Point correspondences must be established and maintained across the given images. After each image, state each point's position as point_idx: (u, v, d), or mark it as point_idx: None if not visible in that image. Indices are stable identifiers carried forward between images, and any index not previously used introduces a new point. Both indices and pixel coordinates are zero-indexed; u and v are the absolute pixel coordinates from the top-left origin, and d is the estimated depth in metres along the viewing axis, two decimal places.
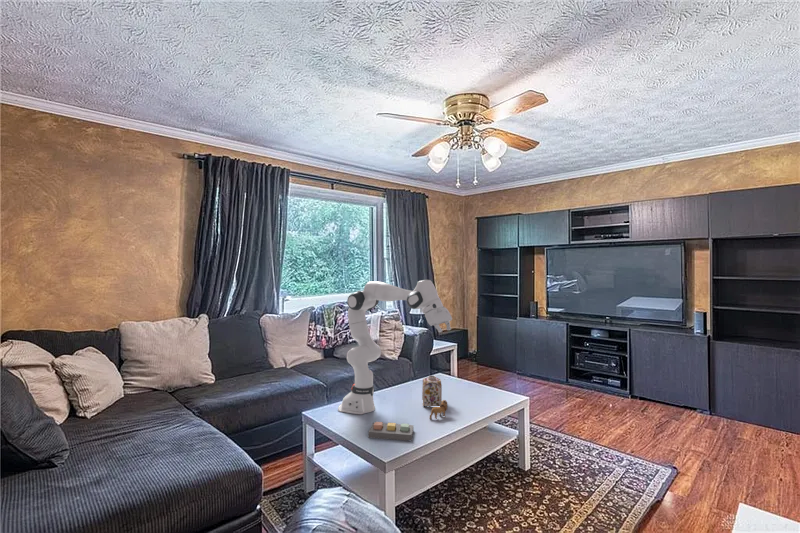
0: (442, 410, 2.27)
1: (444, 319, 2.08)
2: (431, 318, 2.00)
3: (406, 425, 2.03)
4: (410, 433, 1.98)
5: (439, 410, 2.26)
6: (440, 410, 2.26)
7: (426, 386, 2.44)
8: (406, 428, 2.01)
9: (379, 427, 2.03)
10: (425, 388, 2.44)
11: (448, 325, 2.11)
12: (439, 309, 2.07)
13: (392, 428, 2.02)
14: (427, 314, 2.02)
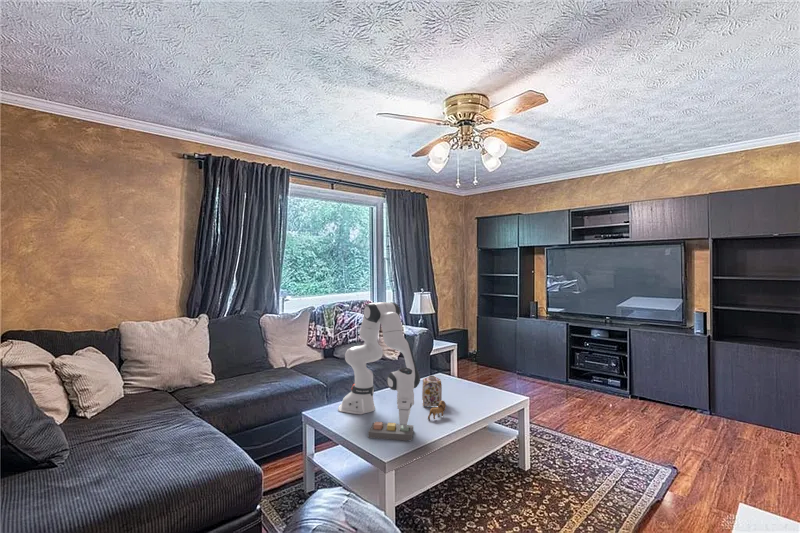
0: (440, 410, 2.26)
1: None
2: (405, 419, 1.93)
3: None
4: (410, 433, 1.98)
5: (437, 411, 2.25)
6: (438, 411, 2.25)
7: (426, 386, 2.44)
8: (406, 430, 2.01)
9: (379, 427, 2.03)
10: (425, 388, 2.44)
11: None
12: None
13: (392, 428, 2.02)
14: (402, 413, 1.94)
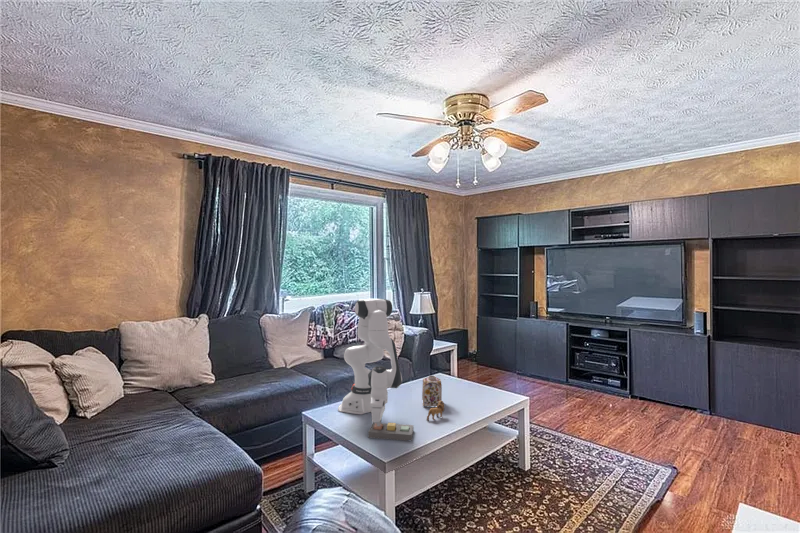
0: (439, 411, 2.25)
1: (382, 413, 2.05)
2: (377, 417, 1.95)
3: (406, 428, 2.03)
4: (410, 433, 1.98)
5: (436, 411, 2.24)
6: (437, 411, 2.25)
7: (426, 386, 2.44)
8: None
9: (379, 429, 2.03)
10: (425, 388, 2.44)
11: (379, 419, 2.06)
12: (383, 404, 2.03)
13: (392, 428, 2.02)
14: (375, 411, 1.95)
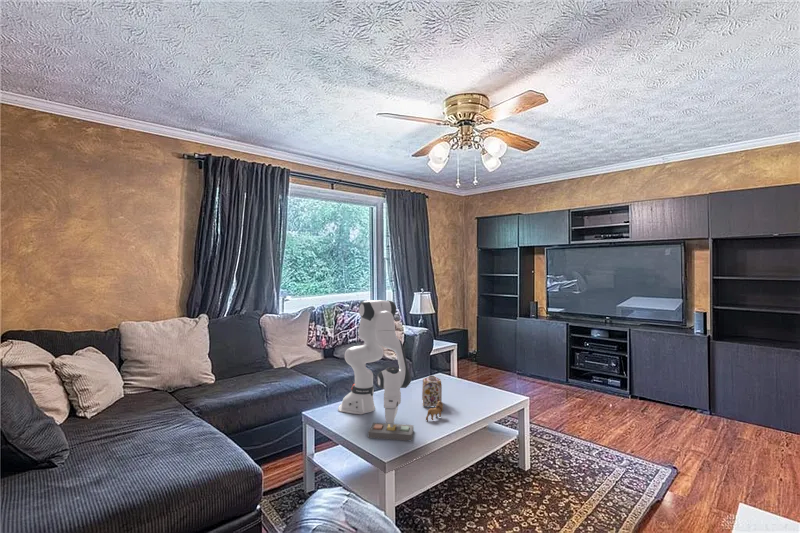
0: (438, 411, 2.25)
1: (395, 414, 2.05)
2: (391, 418, 1.94)
3: (406, 428, 2.03)
4: (410, 433, 1.98)
5: (435, 411, 2.24)
6: (436, 411, 2.24)
7: (426, 386, 2.44)
8: None
9: None
10: (425, 388, 2.44)
11: None
12: (397, 405, 2.02)
13: (392, 430, 2.02)
14: (388, 412, 1.94)
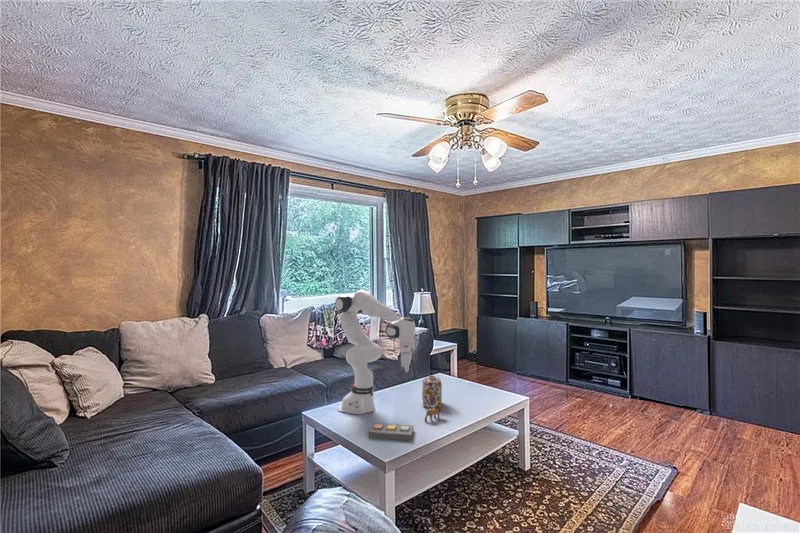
0: (437, 412, 2.24)
1: (410, 360, 2.19)
2: (407, 361, 2.08)
3: (406, 428, 2.03)
4: (410, 433, 1.98)
5: (434, 412, 2.23)
6: (435, 412, 2.23)
7: (426, 386, 2.44)
8: None
9: None
10: (425, 388, 2.44)
11: (407, 366, 2.19)
12: (411, 351, 2.16)
13: None
14: (404, 356, 2.09)
